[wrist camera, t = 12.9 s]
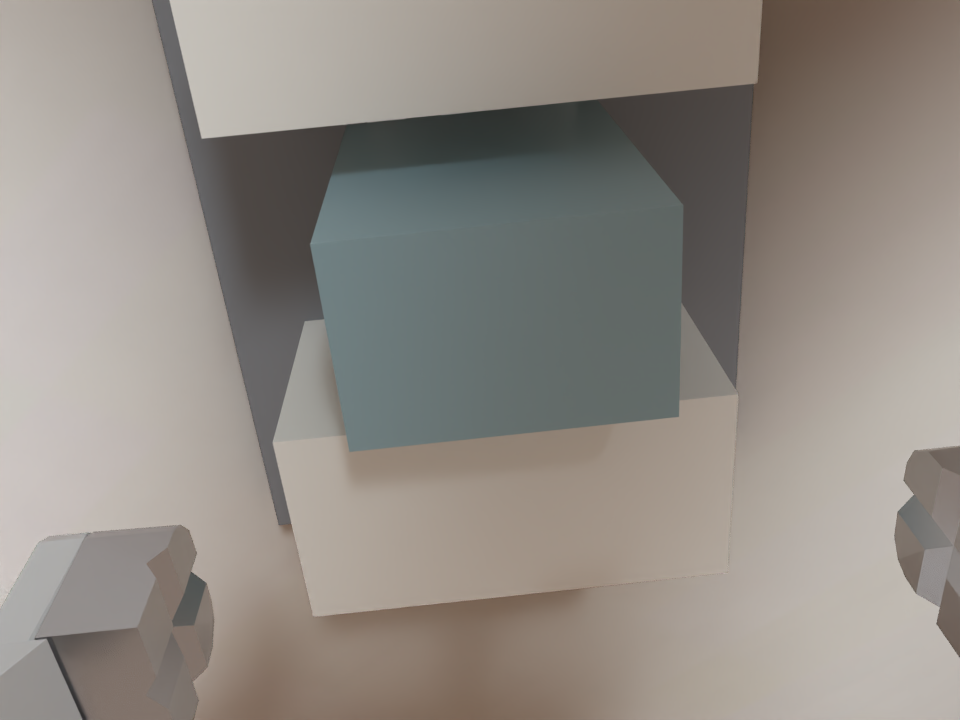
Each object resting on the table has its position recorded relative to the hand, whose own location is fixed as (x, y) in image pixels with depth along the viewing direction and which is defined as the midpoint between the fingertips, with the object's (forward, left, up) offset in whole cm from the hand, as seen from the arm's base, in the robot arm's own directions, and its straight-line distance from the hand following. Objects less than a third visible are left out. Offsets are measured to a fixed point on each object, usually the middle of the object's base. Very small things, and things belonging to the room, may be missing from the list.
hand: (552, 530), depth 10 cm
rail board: (0, 0, -16) cm, 16 cm away
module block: (0, 0, -14) cm, 14 cm away
